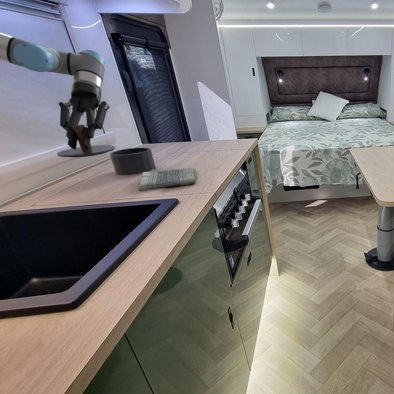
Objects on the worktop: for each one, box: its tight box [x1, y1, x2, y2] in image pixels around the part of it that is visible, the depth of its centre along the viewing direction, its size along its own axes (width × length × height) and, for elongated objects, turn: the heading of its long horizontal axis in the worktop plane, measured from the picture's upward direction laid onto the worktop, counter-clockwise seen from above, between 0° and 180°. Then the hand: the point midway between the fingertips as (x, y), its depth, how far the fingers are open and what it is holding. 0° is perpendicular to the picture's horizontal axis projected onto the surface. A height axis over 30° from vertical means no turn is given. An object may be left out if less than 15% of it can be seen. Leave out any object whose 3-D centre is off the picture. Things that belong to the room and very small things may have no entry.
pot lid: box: [56, 124, 116, 158], centre depth 94 cm, size 15×15×9 cm
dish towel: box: [137, 167, 197, 192], centre depth 108 cm, size 19×18×3 cm
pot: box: [109, 146, 157, 176], centre depth 120 cm, size 14×14×8 cm
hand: (78, 146), depth 91 cm, fingers closed on pot lid, 3 cm apart
